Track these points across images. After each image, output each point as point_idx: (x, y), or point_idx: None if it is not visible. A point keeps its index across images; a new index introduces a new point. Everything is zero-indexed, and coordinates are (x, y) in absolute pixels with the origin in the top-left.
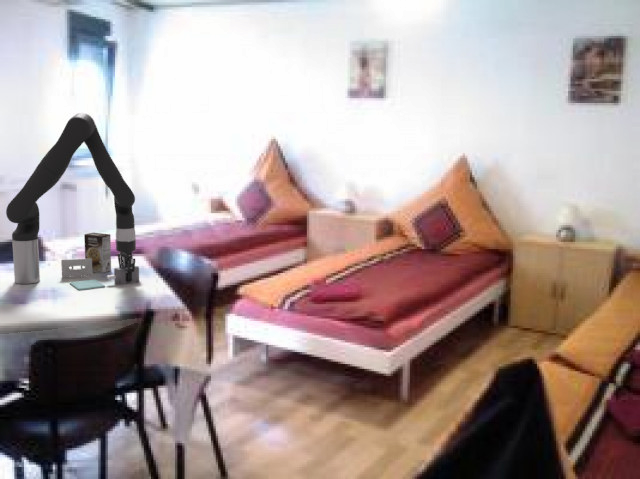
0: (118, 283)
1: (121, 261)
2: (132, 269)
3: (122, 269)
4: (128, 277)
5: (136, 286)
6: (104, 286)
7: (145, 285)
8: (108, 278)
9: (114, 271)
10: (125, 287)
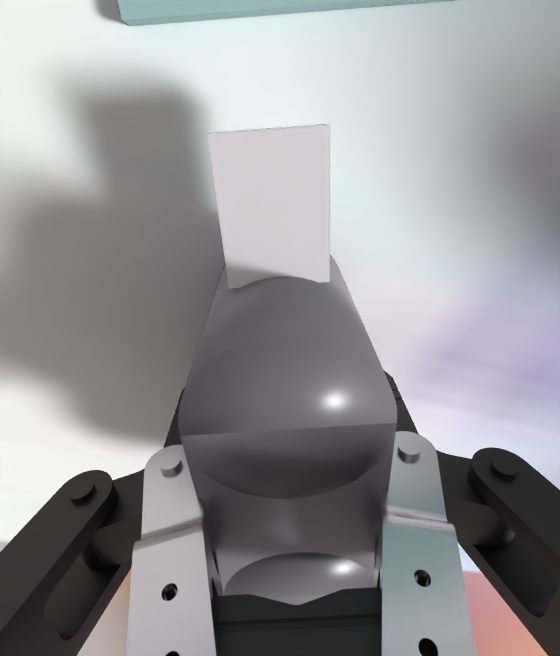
0: (224, 269)
1: (380, 627)
2: (86, 562)
3: (186, 456)
4: (174, 415)
5: (69, 398)
6: (123, 15)
7: (91, 463)
8: (217, 132)
9: (278, 310)
10: (45, 296)
